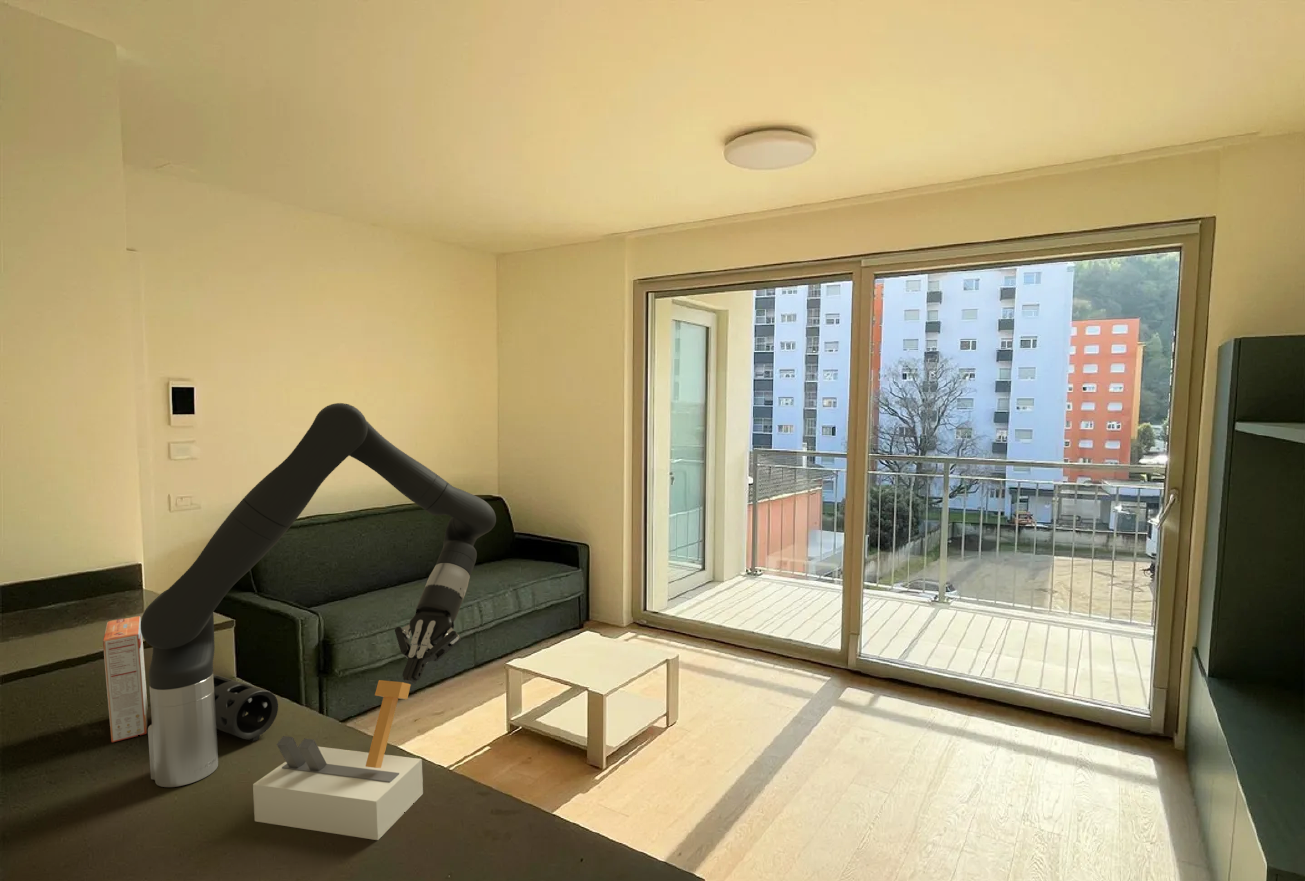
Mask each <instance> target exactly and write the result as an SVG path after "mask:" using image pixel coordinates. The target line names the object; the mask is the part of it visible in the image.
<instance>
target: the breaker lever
mask: <svg viewBox="0 0 1305 881" xmlns="http://www.w3.org/2000/svg"><path fill="white" fill-rule="evenodd" d="M411 686H412V683H407V682H403V681H391V680H382V679H381V680H380V679H379V680H378V682H377V686H376V690H375V693H374V696H376V697H381V698H382V701H381V705H380V709H379V713H378V717H377V721H376V724H375V729H374V732H373V736H372V740H371V743H370V748H369V751H368V753H369V755H368V758H367V762H366V767H374V768H381V766H382V762H383V758H384V755H386V754H385V752H386V749H387V746H388V742H389V737H390V734H391V730H392V725H393V721H394V717H395V713H396V710H397V705H398V702H399V699H400V700H408V698H409V693H410V689H411Z"/></svg>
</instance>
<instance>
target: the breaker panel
mask: <svg viewBox="0 0 1305 881" xmlns="http://www.w3.org/2000/svg"><path fill="white" fill-rule="evenodd" d="M276 747H277V748H278V750H279V751H280V754H281V755H282V757H283V758H284V760H285V761H284V762H283V763H282V764H280V765H278V766H277V767H276V768H273V770H271V771H269V772H268V773H267V774H265V775H264V776H263V777H261V778H260V779H258V780H257V781H255V782H254V783H253V784H252V790H253V791H252V792H253V795H252V796H253V813H254V815H253V816H254V822H258V823H263V824H264V823H265V824H268V825H269V824H270V825H277V826H282V827H283V826H285V827H291V828H297V829H304V830H309V831H310V830H311V831H317V832H323V833H329V834H335V835H336V834H337V835H342V836H347V837H356V838H360V839H369V840H375V841H379V840H380V839H381V837H383V836H384V835H385V834H386V833H387V831H388V830H389V829H390V828H392V826H393V825H395V823H396V822H398V820H399V819H400V818H401V817H402V816H403V815H404V814H405V813H406V812H407V811H408V810H409V809H410V808H411V807H412V806H413V805H414V804H415V803H416V802H417V800H418V799H419V798H420V797H422V795H423V794H424V788H423V787H424V785H423V784H424V782H423V759H422V758H415V757H408V756H401V755H391V754H384V758H383V762H382V766H381V768H374V767H366V762H367V758H368V755H369V751H368V752H367V751H359V750H348V749H342V748H341V749H340V748H335V747H334V748H333V747H332V748H331V747H324V746H318V744H317V742H316V739H312V738H303V740H302V741H301V742H300V743H299V745H298V744H297V742H296V740H295V738H294V737H293V736H287V735H283V736H281V738H280V739H279V741H278V742H277V743H276ZM413 803H414V804H413ZM404 812H405V813H404Z"/></svg>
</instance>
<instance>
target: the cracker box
mask: <svg viewBox="0 0 1305 881" xmlns="http://www.w3.org/2000/svg"><path fill="white" fill-rule="evenodd" d="M141 619H142V617H141V616H140V615H139V616H138V615H137V616H131V617H127V618H119V619H113V620H109V621H107V623H106V625H105V626H106V627H105V632H104V636H103V641H102V643H103V644H102V645H103V647H102V648H103V656H104V657H103V658H104V659H103V660H104V669H105V671H104V672H105V673H104V674H105V683H106V694H107V706H108V716H109V726H110V727H109V728H110V729H109V730H110V739H111V740H110V741H111V743H115V742H121V741H123V740H124V741H125V740H127V739H131V738H132V739H133V738H134V737H139V736H138V735H140V736H143V735H146V734H148V698H147V697H148V696H147V680H146V679H147V678H146V668H145V667H146V666H145V654H144V643H143V639H144V638H143V636H142V634H141Z"/></svg>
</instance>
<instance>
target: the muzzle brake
mask: <svg viewBox="0 0 1305 881" xmlns="http://www.w3.org/2000/svg"><path fill="white" fill-rule="evenodd" d="M213 680H214V696H215V713H216V730H219V731H221V732H224V733H226V734H229V735H232V736H234V737H237V738H240V739H243V740H247V741H250V742H256V741H257V740H259V739H260V737H261V735H263V734H264V733H266V732H267V731H268V730H269V729H270V727H271V726H272V725H273V724H274V721H275V720H276V718H277V715H278V712H279V702H278V699H277V698H278V697H276V695H275V694H274V693H272V691H269V690H266V689H263V688H260V687H256V686H253V685H251V684H250V685H249V684H246V683H244V682H241V681H237V680H234V679H231V678H229V677H228V678H227V677H224V676H221V675H218V674H215V673H213Z"/></svg>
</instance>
